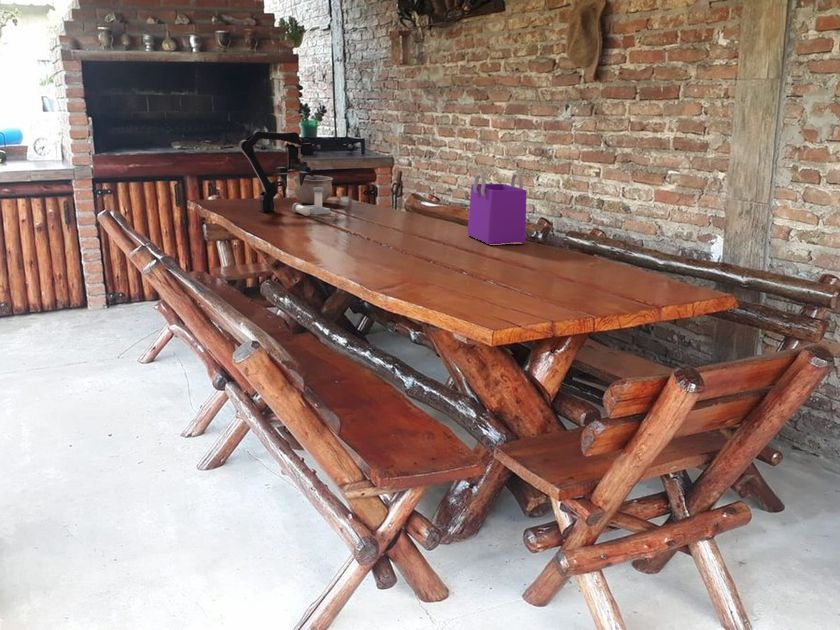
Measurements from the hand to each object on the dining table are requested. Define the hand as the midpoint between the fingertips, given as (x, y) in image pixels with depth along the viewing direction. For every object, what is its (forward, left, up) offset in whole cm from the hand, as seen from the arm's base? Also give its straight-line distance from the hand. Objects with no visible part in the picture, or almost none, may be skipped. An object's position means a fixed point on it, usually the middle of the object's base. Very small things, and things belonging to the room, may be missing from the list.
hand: (293, 186), depth 436 cm
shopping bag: (+29, -123, -13) cm, 128 cm away
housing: (+7, -9, -13) cm, 18 cm away
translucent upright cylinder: (+7, -13, -12) cm, 19 cm away
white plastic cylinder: (-5, -13, -13) cm, 19 cm away
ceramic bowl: (+25, +20, -13) cm, 35 cm away
